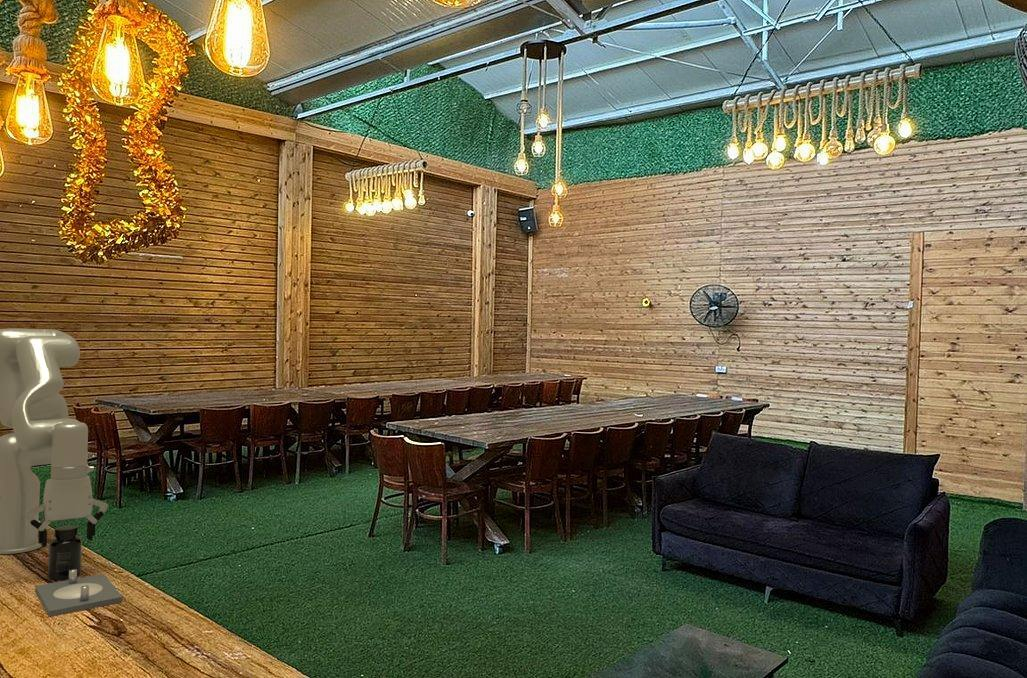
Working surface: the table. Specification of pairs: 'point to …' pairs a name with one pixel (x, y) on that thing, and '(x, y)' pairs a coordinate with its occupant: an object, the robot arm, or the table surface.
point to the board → (77, 594)
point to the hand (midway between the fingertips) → (67, 542)
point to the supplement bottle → (64, 553)
